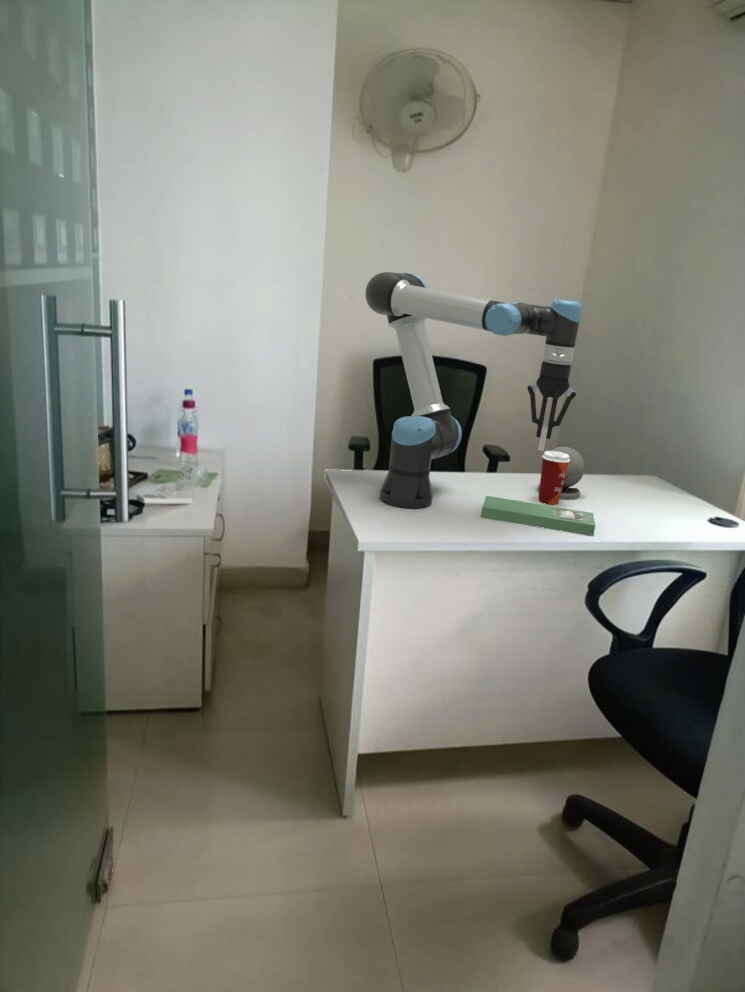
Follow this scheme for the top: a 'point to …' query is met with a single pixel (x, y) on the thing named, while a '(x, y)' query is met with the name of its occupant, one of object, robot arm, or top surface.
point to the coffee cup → (552, 476)
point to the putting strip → (537, 515)
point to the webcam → (571, 473)
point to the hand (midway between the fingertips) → (540, 449)
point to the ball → (568, 514)
